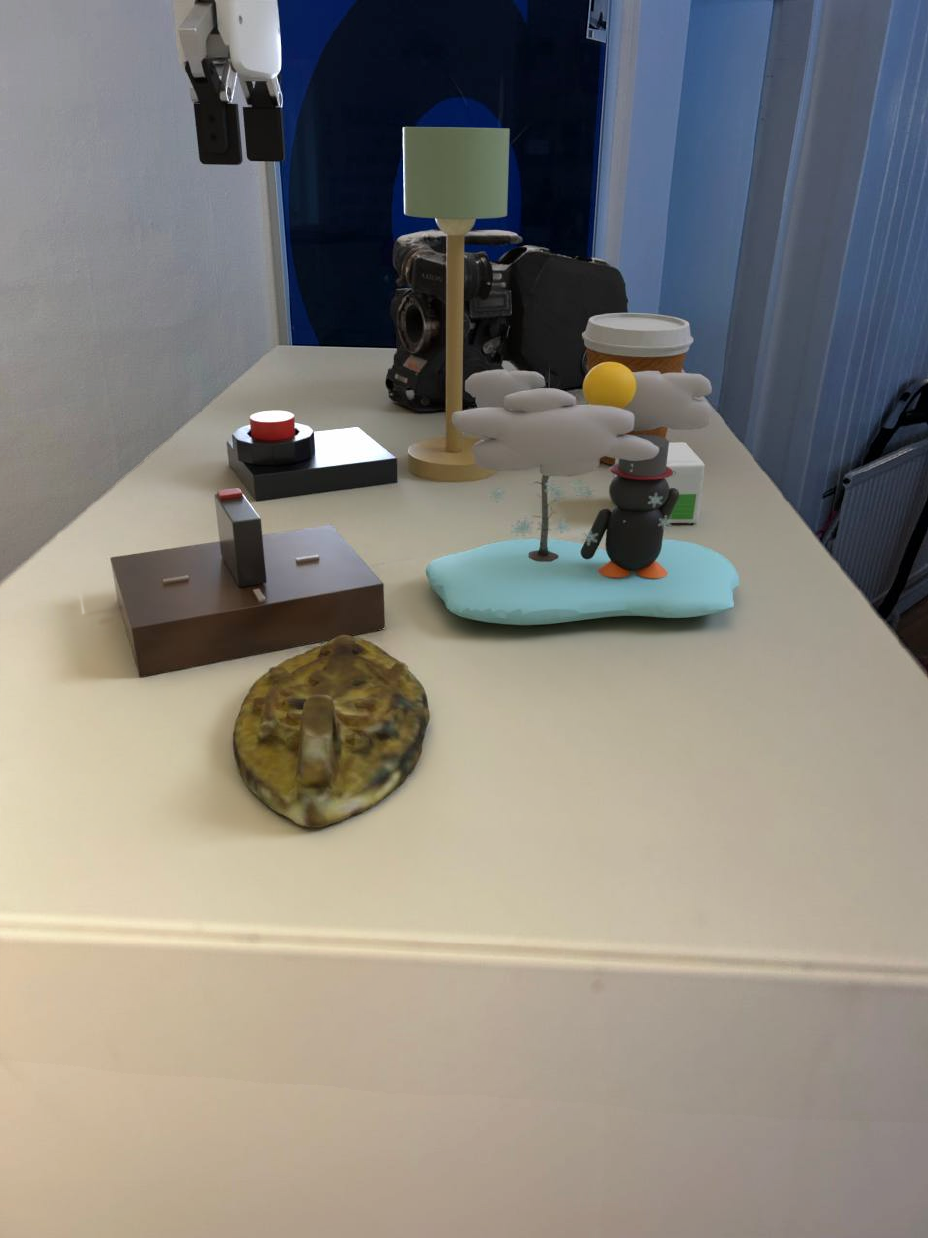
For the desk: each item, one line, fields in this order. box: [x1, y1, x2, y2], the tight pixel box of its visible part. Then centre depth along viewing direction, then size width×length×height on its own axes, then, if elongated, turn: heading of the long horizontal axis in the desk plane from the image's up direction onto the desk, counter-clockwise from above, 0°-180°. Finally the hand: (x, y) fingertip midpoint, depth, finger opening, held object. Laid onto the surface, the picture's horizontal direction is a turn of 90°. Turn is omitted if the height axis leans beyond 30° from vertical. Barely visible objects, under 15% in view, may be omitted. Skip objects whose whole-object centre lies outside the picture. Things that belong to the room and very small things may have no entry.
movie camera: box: [384, 228, 629, 412], centre depth 101 cm, size 31×18×18 cm, turn 119°
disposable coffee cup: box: [582, 312, 694, 466], centre depth 83 cm, size 10×10×12 cm
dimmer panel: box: [109, 524, 386, 678], centre depth 56 cm, size 14×10×3 cm
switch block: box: [226, 422, 398, 503], centre depth 79 cm, size 12×10×4 cm
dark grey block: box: [214, 487, 267, 587], centre depth 54 cm, size 5×2×4 cm, turn 25°
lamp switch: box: [249, 410, 296, 440], centre depth 77 cm, size 4×4×2 cm
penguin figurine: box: [424, 362, 741, 626], centre depth 56 cm, size 20×11×15 cm, turn 93°
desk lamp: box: [402, 126, 511, 483], centre depth 76 cm, size 8×8×26 cm
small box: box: [613, 441, 706, 524], centre depth 72 cm, size 6×6×5 cm
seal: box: [232, 635, 431, 828], centre depth 45 cm, size 9×5×15 cm
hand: (245, 162), depth 74 cm, fingers open, 9 cm apart
